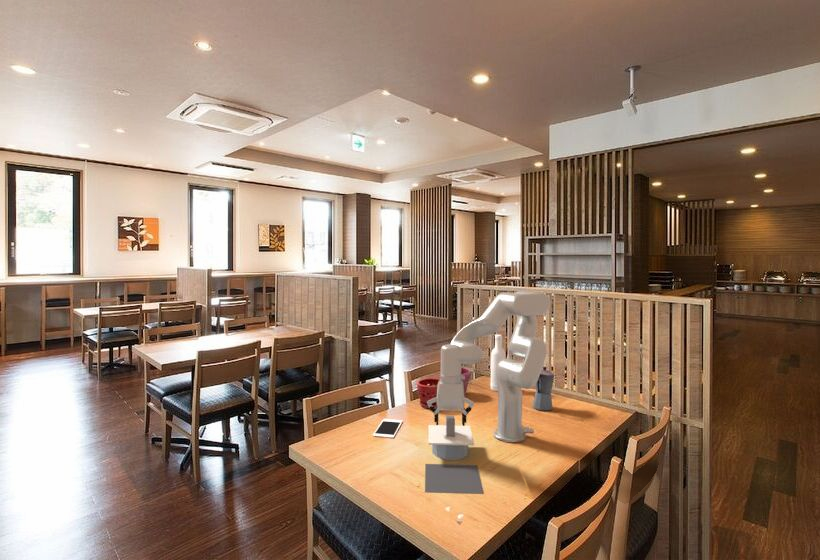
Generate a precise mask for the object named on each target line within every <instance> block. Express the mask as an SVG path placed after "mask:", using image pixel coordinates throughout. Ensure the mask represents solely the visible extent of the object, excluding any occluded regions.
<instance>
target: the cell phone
mask: <svg viewBox="0 0 820 560" xmlns="http://www.w3.org/2000/svg"><path fill="white" fill-rule="evenodd" d="M403 422H404V420H403V419H402V420H401V419H393V418H383V419H382V420H381V422H380V424H378V426H377V428H376V430H375V431H374V432H373V433H372V437H373V436H376V437H375V438H382V437H386V438H385V439H395V437H396V435H397V433H398V431H399V430H400V428H401V426H402V424H403ZM398 429H399V430H398Z"/></svg>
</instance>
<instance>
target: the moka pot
mask: <svg viewBox="0 0 820 560" xmlns="http://www.w3.org/2000/svg"><path fill="white" fill-rule="evenodd" d="M554 380H555V372H553V371H551V370H547V366H543V367H542V370H541V373H540V376H539V378H538V381H537V383H536V384H535V395H534V400H533V405H532V406H533V408H534V409H536V410H540V411H548V412H549V411H552V410H553V401H552V400H553V398H552V397H553V396H552V390H553V385H554Z"/></svg>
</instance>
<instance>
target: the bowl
mask: <svg viewBox="0 0 820 560" xmlns="http://www.w3.org/2000/svg"><path fill="white" fill-rule="evenodd" d="M432 454H433V455H434V456H435V457H437V458H439V459H442V460H447V461H456V460H460V459H464V458H465V457H466V456H468V454H469V445H432Z"/></svg>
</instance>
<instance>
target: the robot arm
mask: <svg viewBox="0 0 820 560" xmlns="http://www.w3.org/2000/svg"><path fill="white" fill-rule="evenodd" d="M551 304H552V303H551V298H550V297H549V295H547V294H546V293H544V292H539V291H530V290H529V291H528V290H518V291H515V292H504V291H503V292H501V293H499V294H497V296H495V298H494V299H493V300H492V302H491V303H490V304H489V306H488V307H487V308H486V309H485V311H483V313H482V314H481V316H479V317H478V318H477V319H475V320H473V321H472V322H470V323H468V324H467V325H465V326H464V327H462V328H461V329H460V330H459V331H458V332H457V333H456V335H455V336H454V337H453V339H452V340H451V342H450V343H449V344H448V343H447V344H442V346H441V348H440V378H439V379H440V381H439V382H438V384H437V385H438V387H437V397H435V398H433V399H430V400H428V401H427V404H428V406H429V408H428V409H429V410H430V412H432V413H433V415H434V423H436V424H435V425H439V412H440V411H441V410H442V411H461V412H462V413H461V426H466V425H465V424H467V415H468V414H469V413H470V412H471V411H472V409H473V407H474V405H475V402H474V401H473V400H471V399H469V398H467V397H465V396H464V386H463V382H462V381H461V380H463V379H465V376H463V375H461V367H462V365H475V364H478V363H479V362H481V360H482V359H483V355H484V354H483V352H484V351H483V350H482V348H481V347H480V346H479V345H477V344H475V343H472V342H473V341H475V340H477V339H479V338H481V337H485V336H489V335H492V334H495V333H497V332H499V330H500V329H501V327H502V326H503V325H504V324H505V322H506V321H507V319H508V318H509V317H510V316H516V323H515V326H514V329H513V332H512V335H511V338H510V339H509V343H508V349H507V350H508V353H509V354H510V355H511V356H513V357H514V358H519V359H521V360H523V362H522V361H519V360H516V359H512V358H505V359H503V360H501V361H500V362H499V363H498V365H497V367H496V375H497V381H498V391H497V392H498V395H497V399H498V400H497V428H495V430H493V436H494V438H496V439H497V440H500V441H502V442H505V443H506V442H507V443H520V442H523V441H524V440H525V439H526V434H531V435H532V434H534V433H535V432H534V431H535V430H534V428H530V427H529V426H523V423H522V422H523V391H522V390H524V389H525V390H531V389H533V388H534V387H536V383H537V381H538V378H539V376H540V373H541V370H543V367H544V363H545V361H546V359H547V353H548V352H547V351H548V349H547V345H546V343H545V341H544V340H542V339H541V338H538V337H536V333H537V329H538V320H537V317H536V316H539V315H543V314H545V313H547V312H548V311H549V309H550V308H551ZM436 401H437V407H436V408H434V407H433V406H432V403H434V402H436ZM465 404H468V406H467V407H466V408H465Z"/></svg>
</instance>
